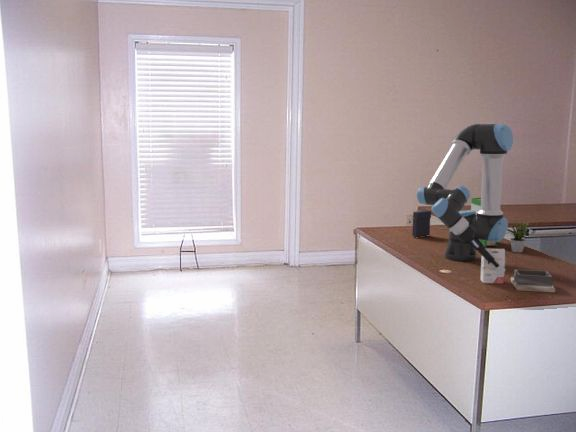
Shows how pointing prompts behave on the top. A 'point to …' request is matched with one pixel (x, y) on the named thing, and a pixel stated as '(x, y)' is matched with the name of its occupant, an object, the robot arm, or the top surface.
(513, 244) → the house plant
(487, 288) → the top surface
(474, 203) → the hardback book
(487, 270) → the ink cartridge box
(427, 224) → the dark navy upright block
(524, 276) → the sleeve stand
